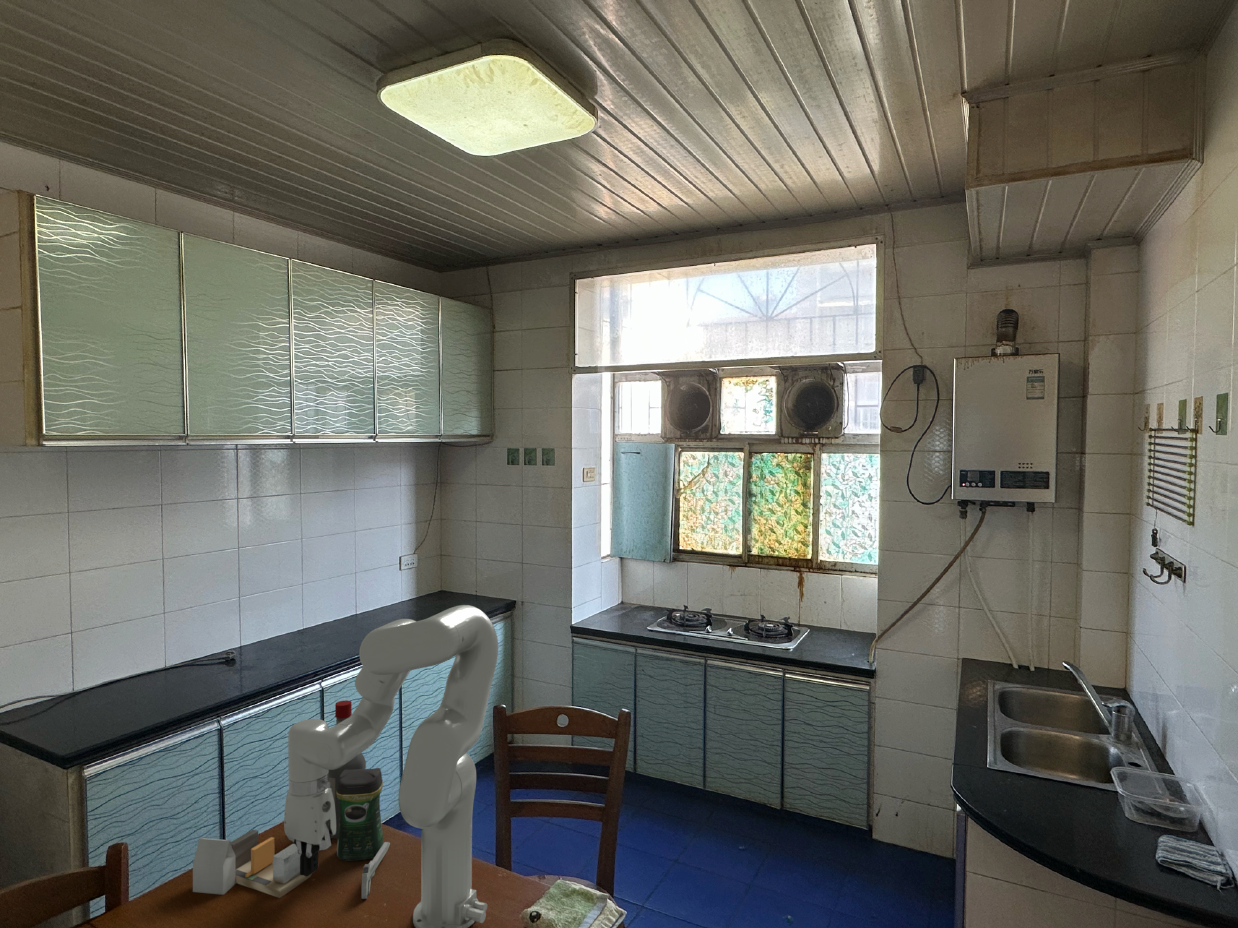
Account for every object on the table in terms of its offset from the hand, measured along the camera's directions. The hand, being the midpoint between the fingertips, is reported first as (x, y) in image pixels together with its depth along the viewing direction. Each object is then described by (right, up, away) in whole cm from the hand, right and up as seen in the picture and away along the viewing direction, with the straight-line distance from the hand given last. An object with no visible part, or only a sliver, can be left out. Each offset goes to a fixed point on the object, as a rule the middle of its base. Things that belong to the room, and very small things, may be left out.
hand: (309, 871), depth 144 cm
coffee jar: (+5, -4, +14) cm, 16 cm away
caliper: (+11, -4, +7) cm, 14 cm away
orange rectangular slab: (-12, -2, +4) cm, 13 cm away
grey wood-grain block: (-5, -2, +2) cm, 6 cm away
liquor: (-3, -4, +24) cm, 25 cm away
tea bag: (-20, -4, +1) cm, 20 cm away
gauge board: (-11, -4, +5) cm, 12 cm away
